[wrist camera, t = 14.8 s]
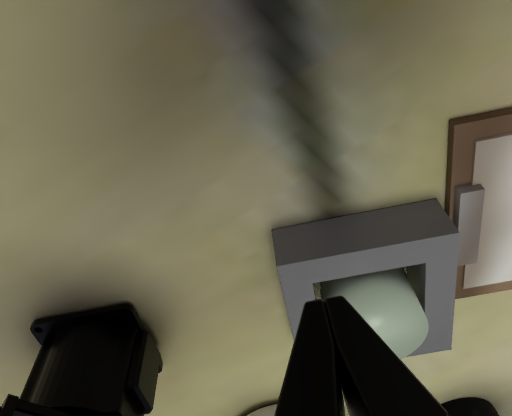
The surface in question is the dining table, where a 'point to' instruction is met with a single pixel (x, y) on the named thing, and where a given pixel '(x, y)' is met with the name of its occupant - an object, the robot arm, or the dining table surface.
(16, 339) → the dining table surface
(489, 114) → the clipboard
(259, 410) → the wine bottle
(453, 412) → the cup
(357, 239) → the button housing
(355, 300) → the button
